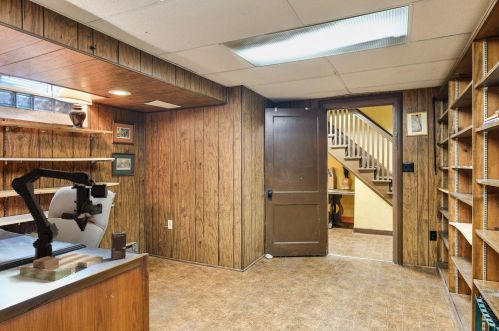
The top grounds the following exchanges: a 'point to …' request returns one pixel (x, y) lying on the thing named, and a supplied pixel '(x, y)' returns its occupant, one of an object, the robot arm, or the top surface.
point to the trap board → (62, 267)
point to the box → (118, 245)
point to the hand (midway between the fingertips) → (82, 231)
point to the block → (46, 263)
